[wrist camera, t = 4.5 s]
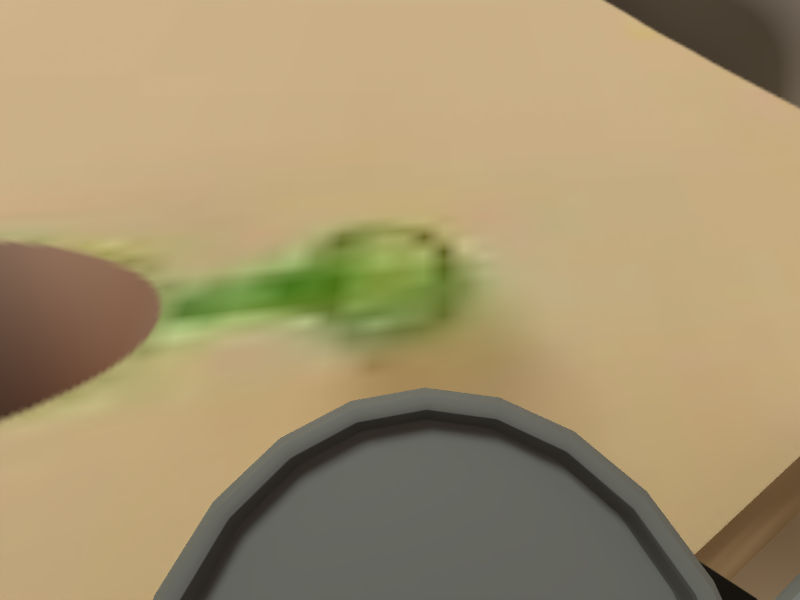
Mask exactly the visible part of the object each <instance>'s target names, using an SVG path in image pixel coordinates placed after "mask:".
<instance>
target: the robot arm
mask: <svg viewBox="0 0 800 600" xmlns="http://www.w3.org/2000/svg"><path fill="white" fill-rule="evenodd" d="M698 561H699V560H698ZM699 562H700V563H701V565H702V566H703V567H704V569H705V570H706V571H707V573H708V574H709V575H710V577H711V578H712V579H713V581H714V583H715V585H716V587H717V589H718V592H719V594H720V596H721V598H722V600H758V599H757V598H756V597H754V596H753V595H751V594H749V593H748V592H746V591H745V590H743V589H742V588H740V587H739V586H737V585H736V584H734V583H733V582H731V581H730V580H728V579H727V578H725V577H723V576H722V575H720V574H719V573H717V572H716V571H714V570H713V569H711V568H710V567H708V566H707V565H705V564H704V563H702V562H701V561H699Z"/></svg>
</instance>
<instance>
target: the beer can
mask: <svg viewBox="0 0 800 600" xmlns="http://www.w3.org/2000/svg"><path fill="white" fill-rule="evenodd" d="M153 600H722V598H721V596H720V594H719V592H718V589H717V587H716V585H715V583H714V581H713V579H712V578H711V577H710V575H709V574H708V573H707V571H706V570H705V569H704V567H703V566H702V565H701V563H700V562H699V561H698V559H697V558H696V557H695V555H694V554H693V553H692V551H691V550H690V549H689V547H688V546H687V545H686V543H685V542H684V541H683V539H682V538H681V537H680V535H679V534H678V533H677V531H676V530H675V529H674V527H673V526H672V525H671V523H670V522H669V521H668V519H667V518H666V517H665V515H664V514H663V513H662V511H661V510H660V509H659V507H658V506H657V505H656V503H655V502H654V501H653V499H652V498H651V497H650V495H649V494H648V493H647V491H645V490H644V489H643V488H642V487H641V486H639V485H638V484H637V483H636V482H635V481H633V480H632V479H631V478H630V477H628V476H627V475H626V474H625V473H624V472H622V471H621V470H620V469H619V468H618V467H616V466H615V465H614V464H613V463H612V462H610V461H609V460H608V459H607V458H605V457H604V456H603V455H602V454H601V453H599V452H598V451H597V450H596V449H595V448H593V447H592V446H591V445H590V444H589V443H587V442H586V441H585V440H584V439H583V438H581V437H580V436H579V435H578V434H576V433H575V432H574V431H572V430H570V429H567V428H565V427H563V426H561V425H559V424H556V423H554V422H552V421H550V420H548V419H545V418H543V417H541V416H539V415H537V414H534V413H532V412H530V411H528V410H525V409H523V408H521V407H519V406H517V405H514V404H512V403H510V402H508V401H506V400H503V399H501V398H498V397H490V396H483V395H475V394H467V393H460V392H452V391H445V390H437V389H430V388H421V389H416V390H410V391H405V392H399V393H394V394H388V395H382V396H377V397H371V398H366V399H360V400H355V401H350V402H348V403H347V404H345V405H343V406H341V407H339V408H337V409H335V410H333V411H331V412H329V413H327V414H326V415H324V416H322V417H320V418H318V419H316V420H314V421H312V422H310V423H308V424H306V425H305V426H303V427H301V428H299V429H297V430H295V431H293V432H291V433H289V434H287V435H285V436H284V437H282V438H280V439H279V440H278V441H277V442H276V443H274V444H273V445H272V446H271V447H270V448H269V449H268V450H267V451H266V452H265V453H264V454H263V455H262V456H261V457H260V458H259V459H258V460H257V461H256V462H255V463H253V464H252V465H251V466H250V467H249V468H248V469H247V470H246V471H245V472H244V473H243V474H242V475H241V476H240V477H239V478H238V479H237V480H236V481H235V482H234V483H232V484H231V485H230V486H229V487H228V488H227V489H226V490H225V491H224V492H223V493H222V494H221V495H220V496H219V497H218V498H217V499H216V500H215V501H214V502H213V503H212V505H211V506H210V508H209V509H208V511H207V513H206V514H205V516H204V517H203V519H202V521H201V522H200V524H199V525H198V527H197V529H196V530H195V532H194V533H193V535H192V536H191V538H190V540H189V541H188V543H187V544H186V546H185V548H184V549H183V551H182V552H181V554H180V556H179V557H178V559H177V560H176V562H175V564H174V565H173V567H172V568H171V570H170V572H169V573H168V575H167V576H166V578H165V580H164V581H163V583H162V584H161V586H160V588H159V589H158V591H157V592H156V594H155V596H154V599H153Z"/></svg>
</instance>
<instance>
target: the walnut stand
mask: <svg viewBox="0 0 800 600" xmlns="http://www.w3.org/2000/svg"><path fill="white" fill-rule="evenodd" d="M695 557H696V558H697V559H698V560H699V561H701V562H702V563H704V564H705V565H707V566H708V567H710V568H711V569H713V570H714V571H716V572H717V573H719V574H720V575H722V576H723V577H725V578H727V579H728V580H730V581H731V582H733V583H734V584H736V585H737V586H739V587H740V588H742V589H743V590H745V591H746V592H748V593H749V594H751V595H753V596H754V597H756V598H757V599H758V600H800V457H799V458H798V459H797V460H796V461H795V462H794V463H792V464H791V465H790V466H789V467H788V468H787V469H786V470H785V471H784V472H783V473H782V474H781V475H780V476H779V477H778V478H776V479H775V480H774V481H773V482H772V483H771V484H770V485H769V486H768V487H767V488H766V489H765V490H764V491H763V492H761V493H760V494H759V495H758V496H757V497H756V498H755V499H754V500H753V501H752V502H751V503H750V504H749V505H748V506H746V507H745V508H744V509H743V510H742V511H741V512H740V513H739V514H738V515H737V516H736V517H735V518H734V519H733V520H732V521H730V522H729V523H728V524H727V525H726V526H725V527H724V528H723V529H722V530H721V531H720V532H719V533H718V534H717V535H715V536H714V537H713V538H712V539H711V540H710V541H709V542H708V543H707V544H706V545H705V546H704V547H703V548H702V549H700V550H699V551H698V552H697V553H696V554H695Z"/></svg>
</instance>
